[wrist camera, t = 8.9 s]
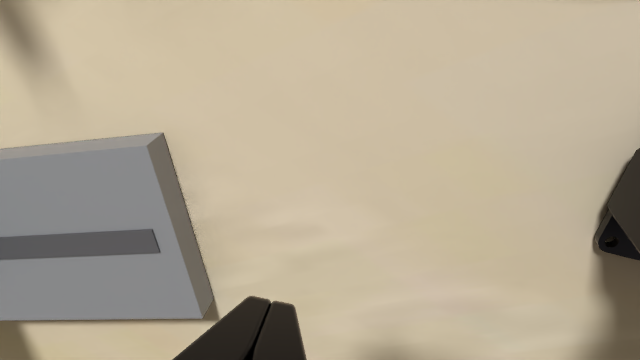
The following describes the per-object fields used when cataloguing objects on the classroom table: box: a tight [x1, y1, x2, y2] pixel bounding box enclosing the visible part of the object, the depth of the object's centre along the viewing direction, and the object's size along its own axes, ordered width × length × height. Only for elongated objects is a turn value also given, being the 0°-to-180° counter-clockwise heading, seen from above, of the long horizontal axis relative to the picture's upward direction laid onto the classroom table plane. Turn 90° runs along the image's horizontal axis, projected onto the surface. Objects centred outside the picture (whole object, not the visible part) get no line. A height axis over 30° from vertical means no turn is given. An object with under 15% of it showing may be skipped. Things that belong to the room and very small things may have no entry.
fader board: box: [0, 133, 214, 321], centre depth 24 cm, size 16×9×2 cm, turn 99°
